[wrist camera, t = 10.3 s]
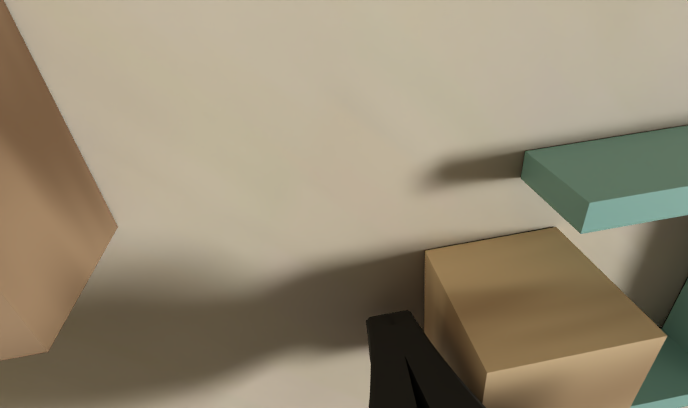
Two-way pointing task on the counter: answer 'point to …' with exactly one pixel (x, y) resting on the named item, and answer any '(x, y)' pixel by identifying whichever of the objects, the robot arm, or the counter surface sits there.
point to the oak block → (536, 324)
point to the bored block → (41, 207)
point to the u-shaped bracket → (625, 219)
